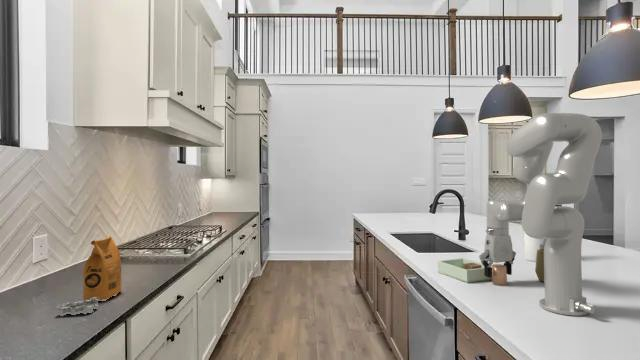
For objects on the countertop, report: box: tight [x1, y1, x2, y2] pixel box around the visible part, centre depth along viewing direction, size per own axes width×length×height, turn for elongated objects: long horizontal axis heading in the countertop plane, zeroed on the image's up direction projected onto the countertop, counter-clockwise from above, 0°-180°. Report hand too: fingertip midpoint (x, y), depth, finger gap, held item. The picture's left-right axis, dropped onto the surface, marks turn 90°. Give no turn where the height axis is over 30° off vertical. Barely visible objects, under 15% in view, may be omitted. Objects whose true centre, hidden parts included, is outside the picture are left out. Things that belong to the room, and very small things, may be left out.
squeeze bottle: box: [534, 238, 547, 283], centre depth 134 cm, size 8×8×18 cm
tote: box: [437, 257, 492, 284], centre depth 144 cm, size 18×14×5 cm
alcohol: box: [523, 231, 544, 263], centre depth 168 cm, size 9×9×30 cm
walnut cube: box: [463, 263, 481, 270], centre depth 141 cm, size 5×5×5 cm
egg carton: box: [56, 297, 100, 314], centre depth 113 cm, size 11×8×4 cm
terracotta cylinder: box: [491, 263, 508, 287], centre depth 133 cm, size 5×5×7 cm
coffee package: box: [82, 235, 122, 301], centre depth 127 cm, size 10×12×22 cm
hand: (498, 275), depth 133 cm, fingers open, 9 cm apart
